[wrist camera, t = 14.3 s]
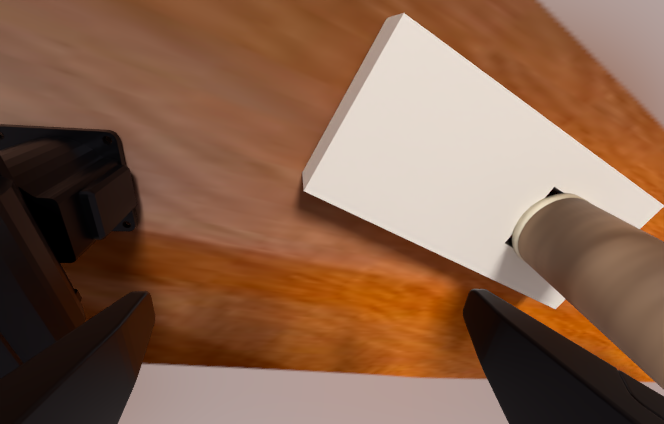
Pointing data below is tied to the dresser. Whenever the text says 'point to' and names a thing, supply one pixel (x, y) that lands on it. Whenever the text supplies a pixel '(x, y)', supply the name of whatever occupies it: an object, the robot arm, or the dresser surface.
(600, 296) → the peg
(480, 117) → the board
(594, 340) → the dresser surface
